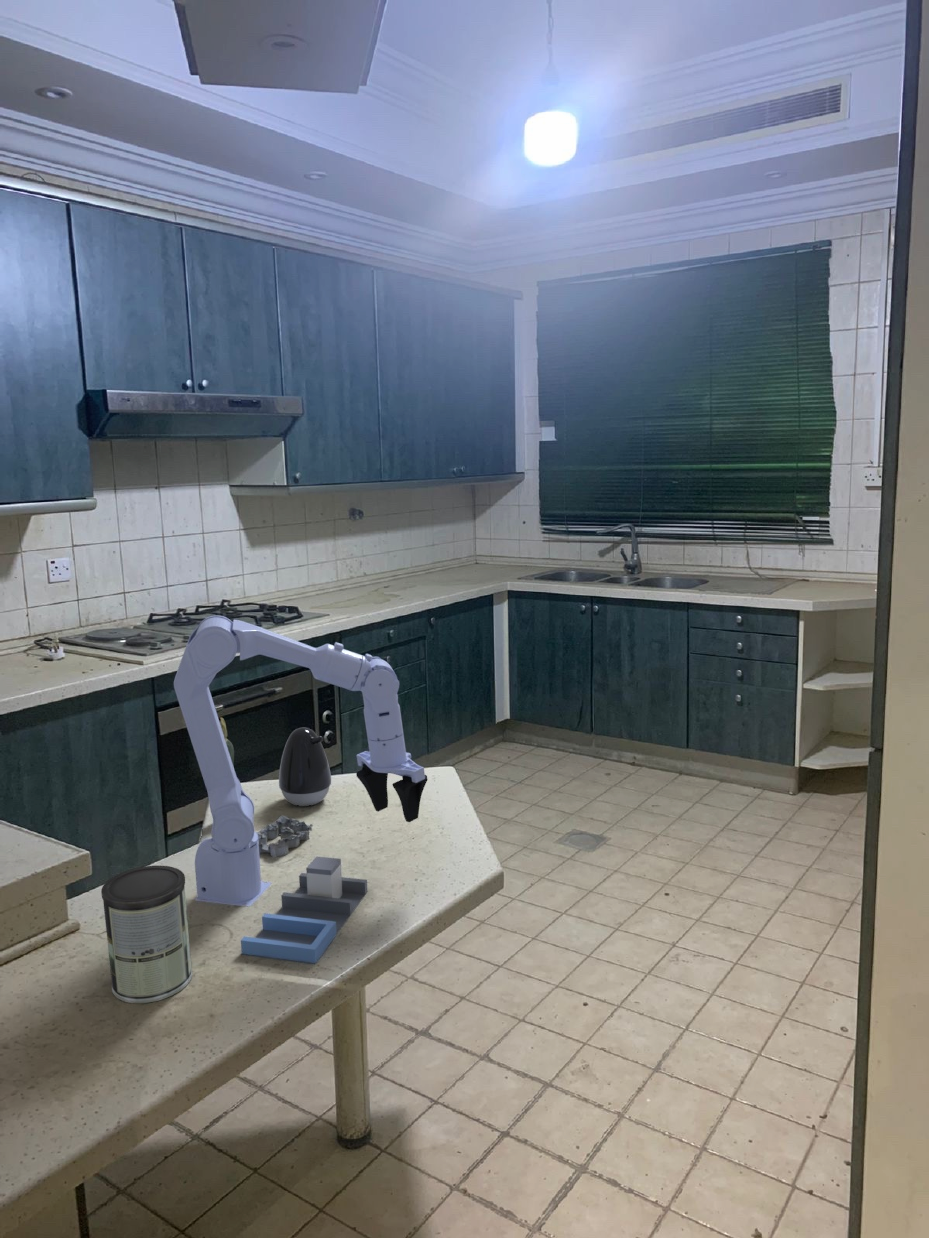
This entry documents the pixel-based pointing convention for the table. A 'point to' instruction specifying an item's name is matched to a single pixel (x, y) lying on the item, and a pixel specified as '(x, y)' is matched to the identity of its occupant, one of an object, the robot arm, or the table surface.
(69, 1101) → the table surface
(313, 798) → the black penguin toy
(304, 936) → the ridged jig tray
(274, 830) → the grey lumpy cluster
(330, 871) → the grey square block
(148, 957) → the coffee can
